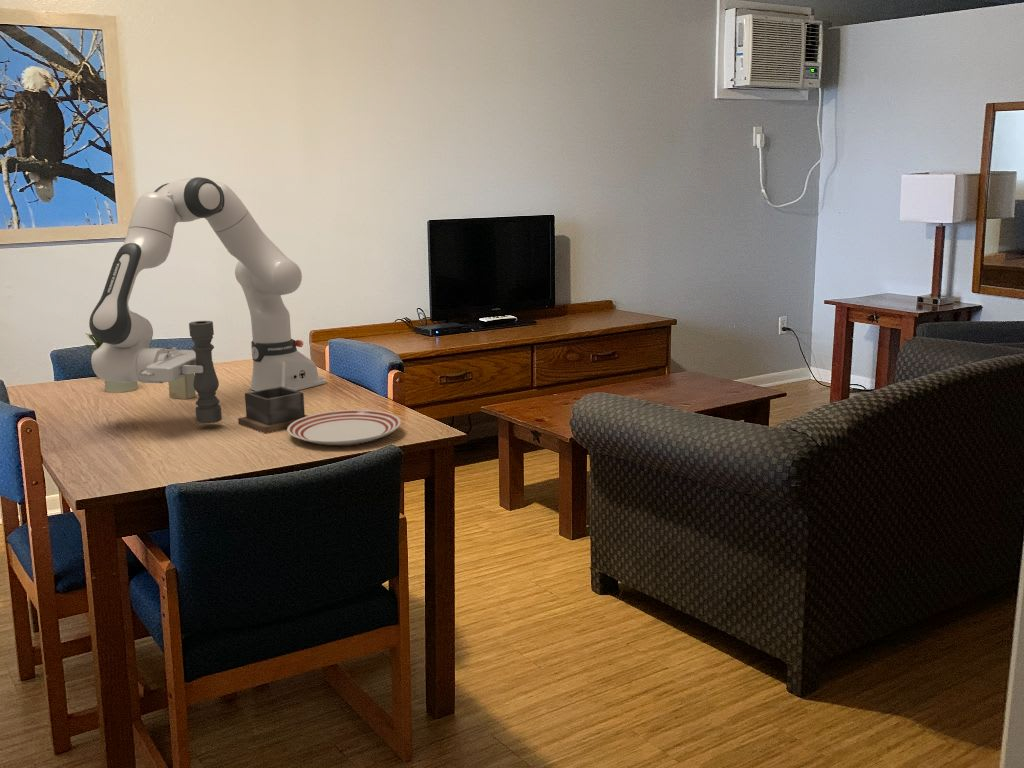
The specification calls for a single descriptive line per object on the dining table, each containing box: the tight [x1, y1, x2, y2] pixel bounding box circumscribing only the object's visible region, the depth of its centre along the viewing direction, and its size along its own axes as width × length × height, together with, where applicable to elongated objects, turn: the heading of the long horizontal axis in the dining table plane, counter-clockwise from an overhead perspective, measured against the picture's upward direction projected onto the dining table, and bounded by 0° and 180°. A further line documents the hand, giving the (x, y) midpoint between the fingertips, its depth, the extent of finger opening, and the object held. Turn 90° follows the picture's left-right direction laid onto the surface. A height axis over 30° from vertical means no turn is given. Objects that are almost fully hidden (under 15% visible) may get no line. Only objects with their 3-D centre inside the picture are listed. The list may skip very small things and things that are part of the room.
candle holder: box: [188, 320, 223, 424], centre depth 252 cm, size 6×6×25 cm
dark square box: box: [237, 387, 308, 434], centre depth 257 cm, size 14×13×8 cm
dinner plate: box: [286, 409, 402, 446], centre depth 246 cm, size 28×27×3 cm
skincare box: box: [168, 373, 196, 400], centre depth 286 cm, size 6×4×12 cm
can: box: [104, 380, 139, 393], centre depth 297 cm, size 9×9×12 cm
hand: (208, 366), depth 251 cm, fingers closed on candle holder, 4 cm apart
